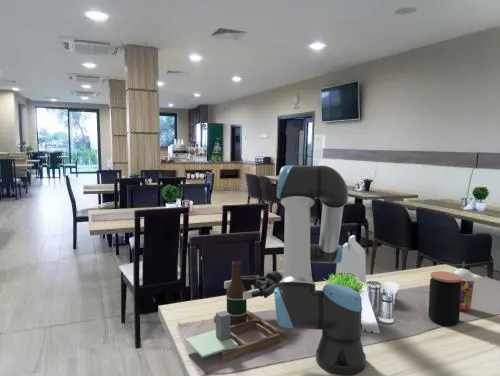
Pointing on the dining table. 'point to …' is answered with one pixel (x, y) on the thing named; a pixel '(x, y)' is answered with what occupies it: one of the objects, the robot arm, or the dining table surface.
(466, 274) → the smoothie
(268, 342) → the brown flat frame
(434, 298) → the coffee jar
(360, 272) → the milk
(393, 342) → the dining table surface
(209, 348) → the cover
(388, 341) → the dining table surface
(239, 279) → the beer bottle
